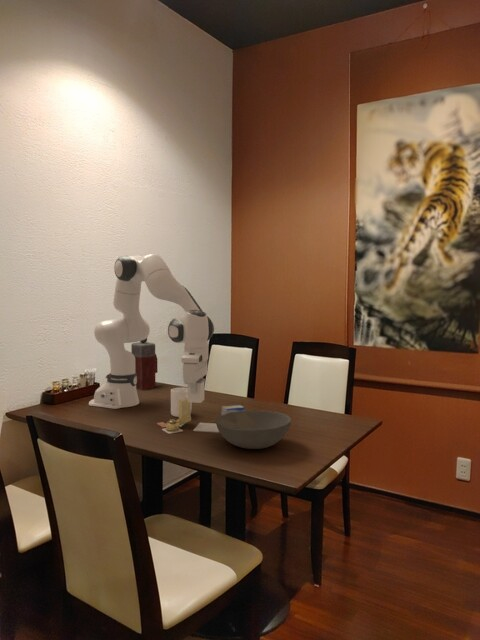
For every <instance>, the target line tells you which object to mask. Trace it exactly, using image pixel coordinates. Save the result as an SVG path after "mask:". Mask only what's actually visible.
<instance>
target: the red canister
mask: <svg viewBox="0 0 480 640" xmlns="http://www.w3.org/2000/svg"><path fill="white" fill-rule="evenodd" d="M130 347H131V351H130V352H131V353H132V354H133V355H134V356H135V372H136V376H137V384H136V388H137V389H136V390H139V389H140V390H139V391H145V390H144V389H146V390H150V389H149V388H151V389H155V388H154V387H157V386H156V374H157V373H159V372H158V357H157V353H156V343H154V342H148V337H147V338H146V339H144V340H141V341H138V342H131V346H130Z"/></svg>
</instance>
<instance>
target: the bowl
mask: <svg viewBox="0 0 480 640" xmlns="http://www.w3.org/2000/svg"><path fill="white" fill-rule="evenodd" d="M215 424H216V425H217V428H218V430H219V434H220V435H221V436H222V438H223V439H224V440H226V441H227V442H228V443H230V444H232V445H233V446H236V447H239V448H242V449H249V450H259V449H266V448H270V447H272V446H274V445H276V444H277V443H278V442H279V441H281V440H282V439H283V438H284V437H285V436H286V434H287V433H288V431H289V429H290V427H291V424H292V418H291V416H289V415H287V414H285V413H282V412H279V411H278V412H277V411H271V410H261V409H260V410H253V409H252V410H245V411H240V412H231V413H228V414H225V415H222V414H221V415H220V416H217V418H216V419H215Z"/></svg>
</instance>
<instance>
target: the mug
mask: <svg viewBox="0 0 480 640" xmlns="http://www.w3.org/2000/svg"><path fill="white" fill-rule="evenodd" d="M185 398H188V387H175V388H171V389H170V414H171V416H173V417H175V418H179V400H182V399H185ZM192 407H193V402H191V410H192Z"/></svg>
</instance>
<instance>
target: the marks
mask: <svg viewBox="0 0 480 640" xmlns="http://www.w3.org/2000/svg"><path fill="white" fill-rule="evenodd" d="M185 424H186V423H184V424H182V425H179V430H177V431H167V430H166V422H164V421H162V422H157V423H156V425H158V426H159V427H160V428H161V431H163V432H165V433H167V434H169V435H170V434H175V433H181V432H184V430H183V429H181V428H182V427H183V426H185Z"/></svg>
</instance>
